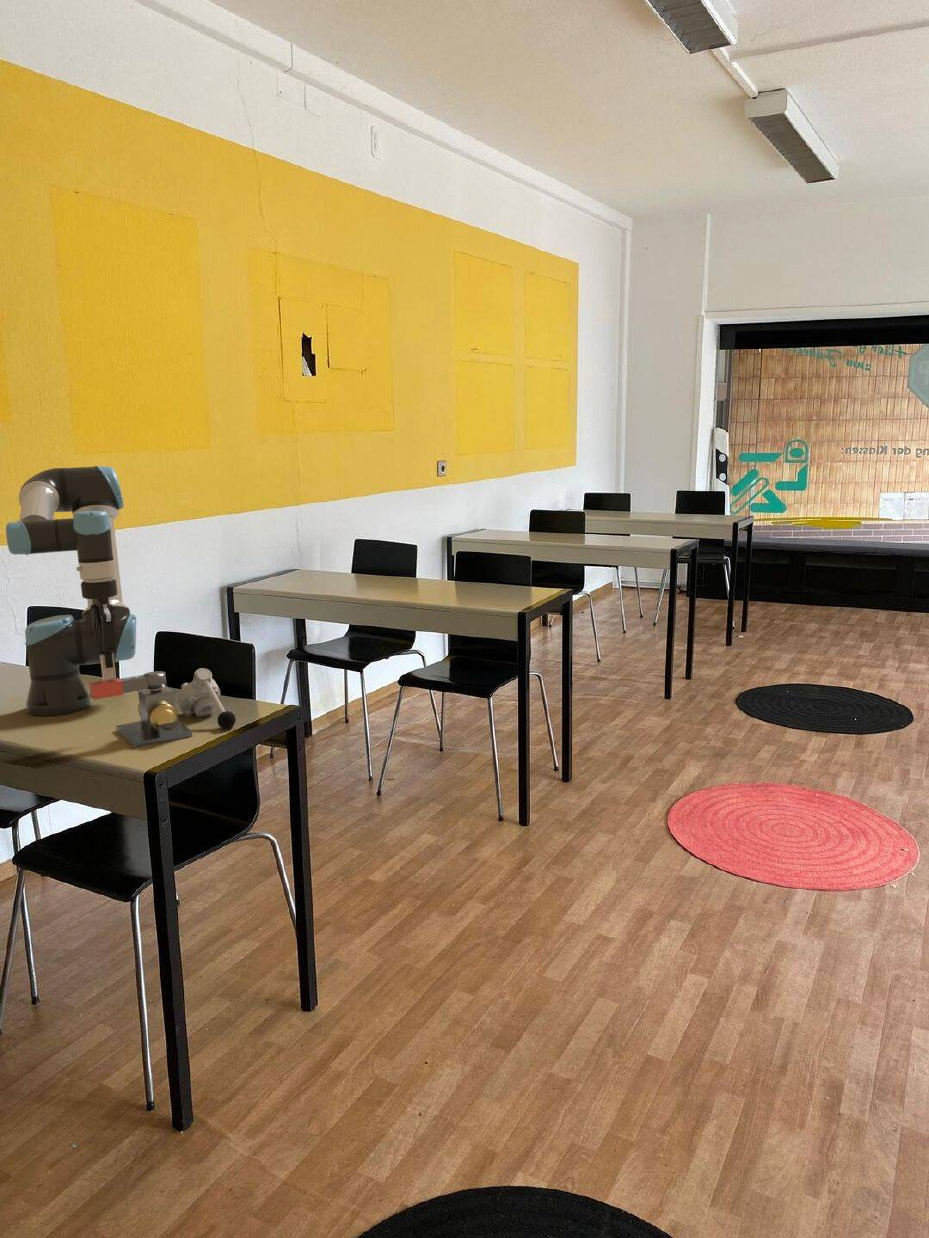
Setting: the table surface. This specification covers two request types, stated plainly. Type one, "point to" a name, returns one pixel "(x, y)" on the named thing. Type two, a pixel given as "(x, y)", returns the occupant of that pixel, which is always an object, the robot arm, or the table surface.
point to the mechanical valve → (204, 698)
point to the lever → (127, 685)
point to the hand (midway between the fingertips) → (109, 680)
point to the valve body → (154, 720)
